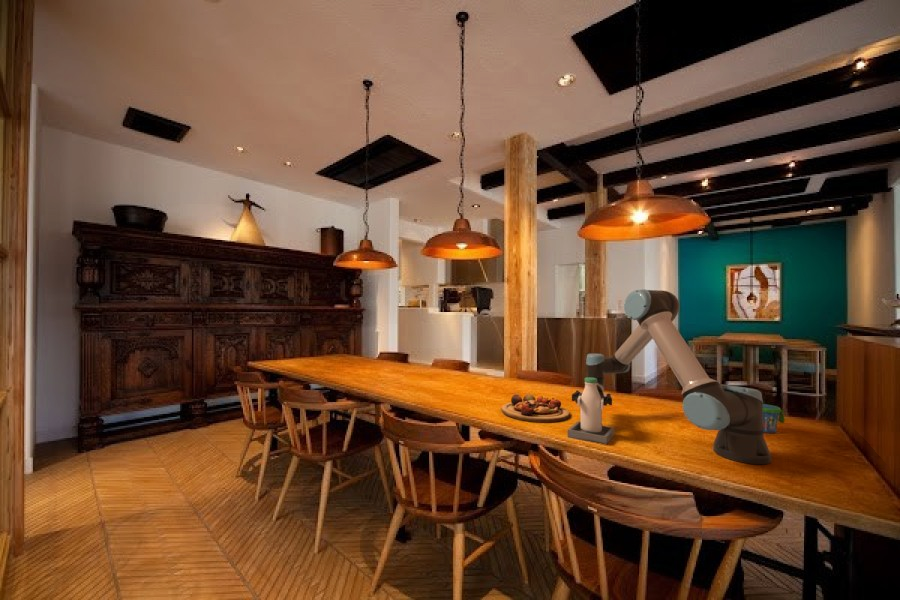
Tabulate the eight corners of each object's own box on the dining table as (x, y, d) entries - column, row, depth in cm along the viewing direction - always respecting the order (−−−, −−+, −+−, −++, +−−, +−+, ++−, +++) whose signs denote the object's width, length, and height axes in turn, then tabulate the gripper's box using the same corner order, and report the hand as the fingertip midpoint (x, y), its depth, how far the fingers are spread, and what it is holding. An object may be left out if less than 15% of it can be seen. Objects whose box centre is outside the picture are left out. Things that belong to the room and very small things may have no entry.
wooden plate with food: (548, 428, 149) (548, 408, 149) (487, 412, 171) (488, 395, 171) (581, 415, 172) (581, 397, 172) (524, 402, 194) (524, 387, 194)
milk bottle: (605, 433, 135) (604, 380, 136) (584, 432, 136) (584, 379, 136) (597, 426, 143) (596, 376, 144) (577, 426, 143) (577, 376, 144)
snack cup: (774, 427, 152) (773, 403, 152) (795, 435, 142) (794, 409, 142) (734, 426, 154) (734, 402, 154) (752, 434, 143) (752, 408, 144)
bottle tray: (614, 434, 141) (614, 427, 141) (606, 445, 129) (606, 437, 130) (577, 427, 149) (577, 421, 149) (567, 437, 137) (567, 429, 138)
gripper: (619, 403, 151) (620, 417, 131) (569, 398, 160) (561, 410, 140) (619, 385, 152) (619, 397, 131) (569, 381, 160) (561, 391, 140)
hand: (590, 404), depth 135 cm, fingers closed on milk bottle, 8 cm apart
